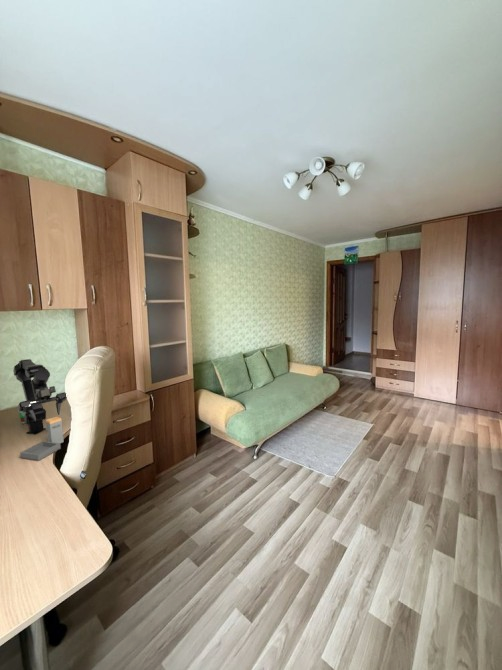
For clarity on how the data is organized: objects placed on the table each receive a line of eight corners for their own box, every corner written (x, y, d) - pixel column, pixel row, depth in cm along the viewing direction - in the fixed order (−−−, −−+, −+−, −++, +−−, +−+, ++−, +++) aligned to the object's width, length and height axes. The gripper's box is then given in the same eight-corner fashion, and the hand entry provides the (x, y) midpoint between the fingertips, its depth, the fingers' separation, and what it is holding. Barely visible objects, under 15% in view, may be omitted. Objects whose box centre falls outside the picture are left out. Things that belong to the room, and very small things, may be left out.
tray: (20, 458, 122) (20, 452, 122) (43, 446, 133) (42, 440, 132) (38, 461, 120) (38, 455, 120) (60, 448, 130) (60, 443, 130)
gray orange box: (48, 443, 135) (45, 419, 134) (59, 439, 139) (57, 416, 138) (52, 446, 132) (50, 422, 131) (64, 442, 136) (61, 418, 135)
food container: (27, 426, 155) (25, 409, 154) (19, 425, 156) (17, 409, 155) (47, 417, 167) (45, 402, 166) (39, 416, 168) (37, 401, 167)
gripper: (17, 386, 122) (24, 418, 118) (65, 377, 136) (73, 406, 132) (15, 395, 129) (22, 426, 125) (61, 386, 143) (68, 413, 139)
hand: (47, 417), depth 130 cm, fingers open, 9 cm apart
